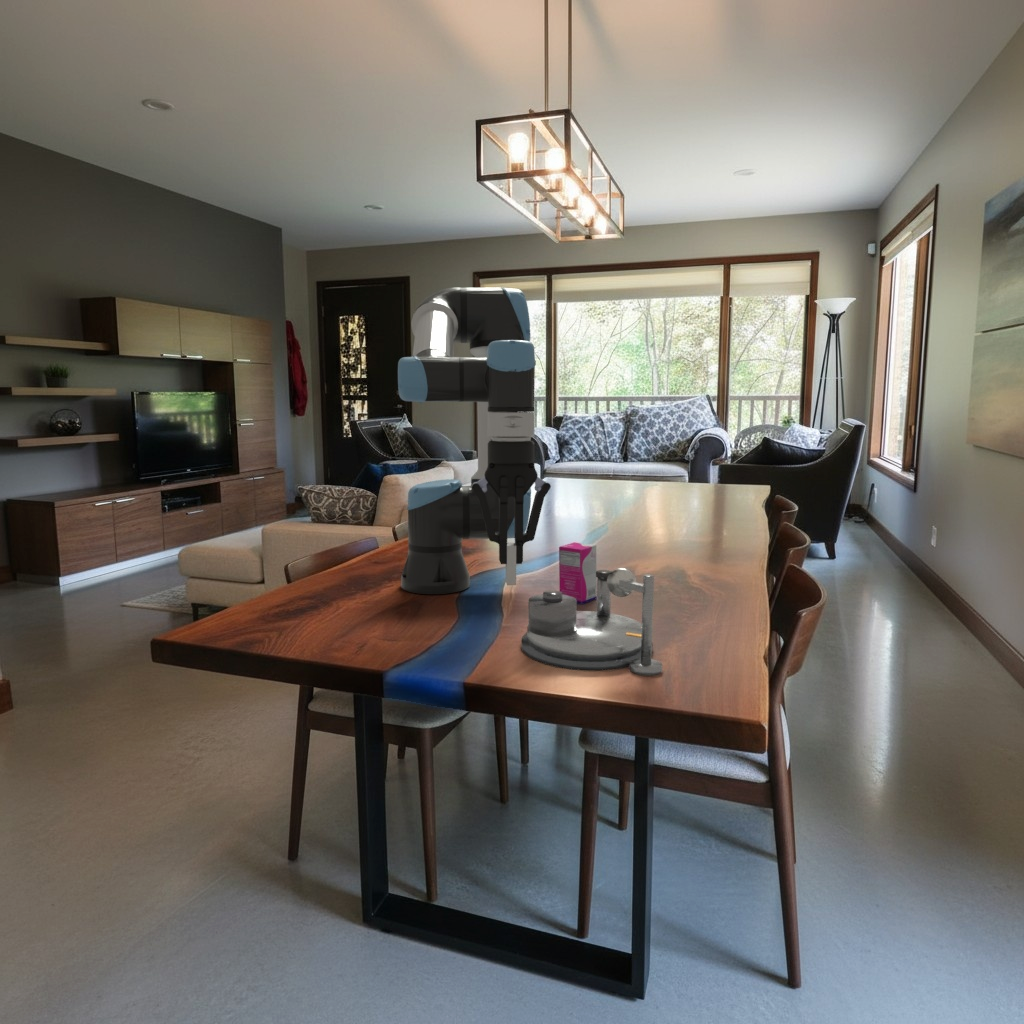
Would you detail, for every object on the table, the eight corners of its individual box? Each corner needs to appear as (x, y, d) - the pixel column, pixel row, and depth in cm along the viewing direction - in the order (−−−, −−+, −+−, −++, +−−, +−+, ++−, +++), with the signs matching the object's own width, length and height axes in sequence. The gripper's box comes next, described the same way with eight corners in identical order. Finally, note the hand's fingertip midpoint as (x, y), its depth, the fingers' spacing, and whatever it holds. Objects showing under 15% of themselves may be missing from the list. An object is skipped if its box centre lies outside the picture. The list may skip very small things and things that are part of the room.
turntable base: (498, 657, 122) (498, 650, 122) (551, 620, 142) (551, 615, 142) (629, 679, 113) (629, 672, 113) (667, 637, 132) (667, 631, 132)
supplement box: (573, 594, 160) (574, 541, 159) (597, 598, 157) (598, 544, 155) (557, 599, 156) (558, 545, 154) (581, 604, 152) (582, 549, 151)
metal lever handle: (597, 668, 118) (599, 573, 115) (607, 658, 122) (609, 566, 120) (657, 678, 113) (660, 579, 111) (665, 667, 118) (669, 572, 115)
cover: (520, 632, 124) (520, 595, 123) (540, 619, 132) (540, 584, 131) (565, 639, 121) (566, 601, 120) (583, 625, 128) (583, 590, 127)
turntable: (507, 648, 123) (507, 590, 121) (554, 616, 140) (555, 564, 139) (625, 668, 114) (627, 605, 112) (660, 631, 132) (662, 576, 130)
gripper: (471, 440, 116) (472, 589, 120) (554, 440, 117) (553, 587, 121) (469, 438, 124) (470, 578, 127) (548, 438, 125) (547, 577, 128)
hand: (510, 583), depth 124 cm, fingers closed
